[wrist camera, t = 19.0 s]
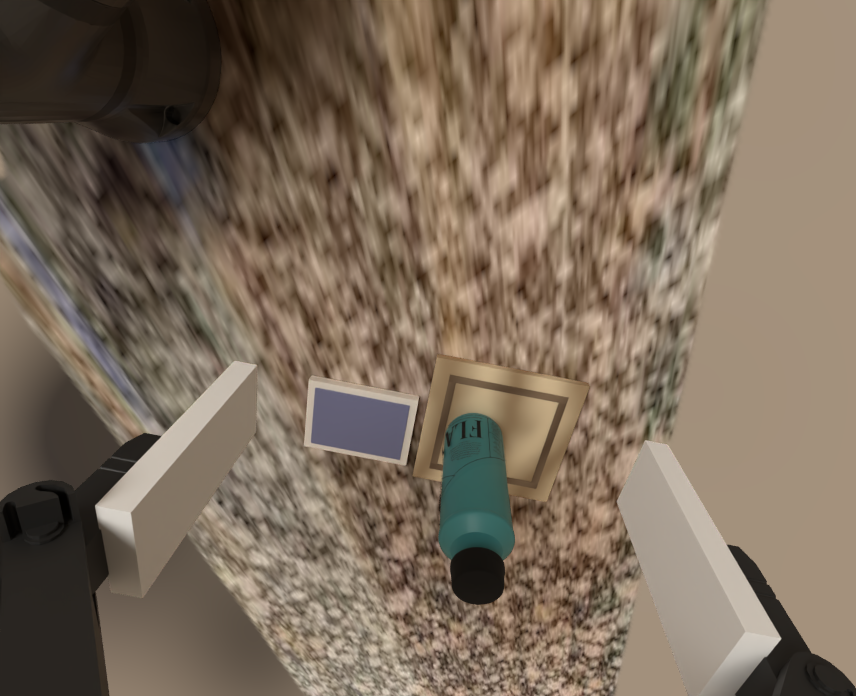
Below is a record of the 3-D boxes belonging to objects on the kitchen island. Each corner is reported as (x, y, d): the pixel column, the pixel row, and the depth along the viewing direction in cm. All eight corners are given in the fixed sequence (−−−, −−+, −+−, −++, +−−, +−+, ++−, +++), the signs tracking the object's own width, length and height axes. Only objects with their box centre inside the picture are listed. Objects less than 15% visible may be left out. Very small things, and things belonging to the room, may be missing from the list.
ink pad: (306, 440, 57) (303, 447, 56) (311, 375, 53) (308, 380, 52) (406, 460, 57) (405, 466, 56) (419, 396, 53) (418, 402, 52)
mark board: (413, 471, 58) (412, 476, 57) (437, 353, 51) (436, 357, 50) (545, 497, 58) (546, 502, 57) (588, 382, 51) (590, 387, 50)
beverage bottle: (485, 393, 51) (496, 545, 33) (513, 439, 54) (538, 604, 36) (432, 418, 53) (415, 574, 35) (462, 461, 55) (460, 628, 37)
